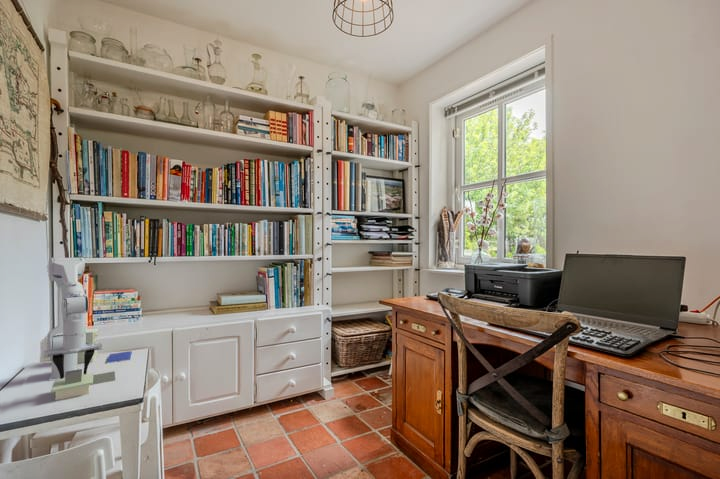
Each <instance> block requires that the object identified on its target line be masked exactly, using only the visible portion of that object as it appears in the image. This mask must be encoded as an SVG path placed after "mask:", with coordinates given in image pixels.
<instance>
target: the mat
mask: <svg viewBox="0 0 720 479" xmlns="http://www.w3.org/2000/svg"><path fill="white" fill-rule="evenodd" d="M114 381H116V372H115V371H110V372H109V371H108V372H103V373H98V374H94V375H93V384H91V385H90V386H94V385H98V384H104V383H109V382H114Z"/></svg>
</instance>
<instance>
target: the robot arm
mask: <svg viewBox="0 0 720 479" xmlns="http://www.w3.org/2000/svg"><path fill="white" fill-rule="evenodd" d="M85 267H86V264H85V258H83V257H82V256H80V257H50V258H49V259H48V278H49V281H52V282H54V283H56V288H57V326H55V327H54V328H52V329H50V331H48V333H47V338H46V350H44V351H43V359H47V358H51V374H50V376H49V378H48V382H54V381H55V380H59V379H64V378H65V374H66V372H67V371H73V370H78V369H81V368H79V367H78V363H77V355H78V353H80V352H85V354H84V363H83V364H84V366H83V375H86V374H87V372H88V367H89V364H90V363H91V362H90V360H91V358H92V356H93V355H94V351H95V350H98V351H102V350H103V342H98V343H96V344H86V329H87V313H89V308H90V302H89V301H90V300H89V297H88V295H87V294H86V293H85V291H84V286H83V284H82V283H81V282H79V280H80V279H81V278H82V276H83V274H84V272H85V269H86V268H85Z"/></svg>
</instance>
